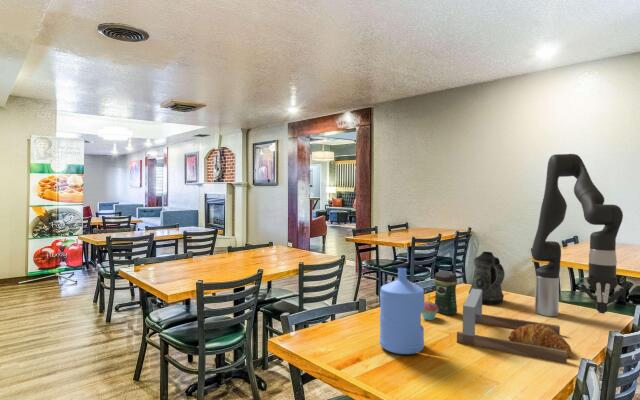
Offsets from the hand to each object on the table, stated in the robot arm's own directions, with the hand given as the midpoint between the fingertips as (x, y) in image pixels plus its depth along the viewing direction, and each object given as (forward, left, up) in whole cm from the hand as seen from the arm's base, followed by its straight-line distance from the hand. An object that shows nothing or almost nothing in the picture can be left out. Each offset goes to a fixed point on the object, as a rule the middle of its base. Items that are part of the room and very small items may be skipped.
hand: (601, 312), depth 128 cm
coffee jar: (-20, -55, -15) cm, 60 cm away
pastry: (+2, -18, -15) cm, 23 cm away
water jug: (+27, -62, -15) cm, 69 cm away
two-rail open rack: (0, -27, -14) cm, 31 cm away
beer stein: (-50, -39, -15) cm, 65 cm away
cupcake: (-8, -60, -15) cm, 62 cm away
